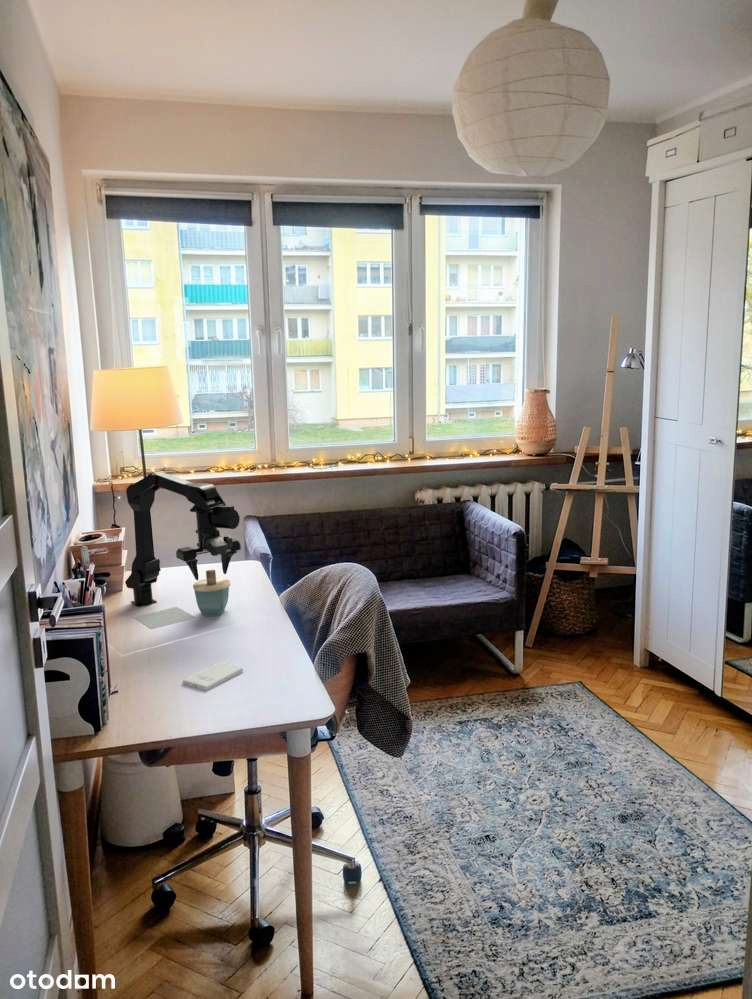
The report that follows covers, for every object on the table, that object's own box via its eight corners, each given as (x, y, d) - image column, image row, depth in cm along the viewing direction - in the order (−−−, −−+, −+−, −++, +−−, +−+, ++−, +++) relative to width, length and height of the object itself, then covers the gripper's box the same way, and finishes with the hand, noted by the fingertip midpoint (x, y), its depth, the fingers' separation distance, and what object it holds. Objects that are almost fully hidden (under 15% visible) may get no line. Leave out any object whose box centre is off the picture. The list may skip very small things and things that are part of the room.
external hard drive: (243, 673, 193) (206, 692, 183) (219, 667, 197) (182, 685, 187) (242, 667, 193) (206, 686, 183) (219, 661, 197) (182, 679, 187)
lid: (187, 586, 236) (185, 571, 235) (219, 578, 243) (218, 563, 242) (203, 594, 228) (201, 578, 227) (236, 586, 234) (235, 570, 234)
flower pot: (225, 618, 233) (223, 589, 231) (196, 619, 233) (193, 590, 231) (231, 609, 241) (229, 581, 240) (203, 609, 242) (201, 582, 240)
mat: (133, 618, 236) (133, 617, 236) (176, 607, 244) (176, 606, 244) (151, 630, 225) (151, 628, 225) (196, 618, 234) (196, 617, 234)
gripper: (189, 536, 220) (194, 589, 223) (247, 525, 231) (251, 575, 234) (173, 530, 229) (177, 581, 232) (230, 520, 240) (233, 568, 243)
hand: (211, 576), depth 235 cm, fingers open, 9 cm apart
